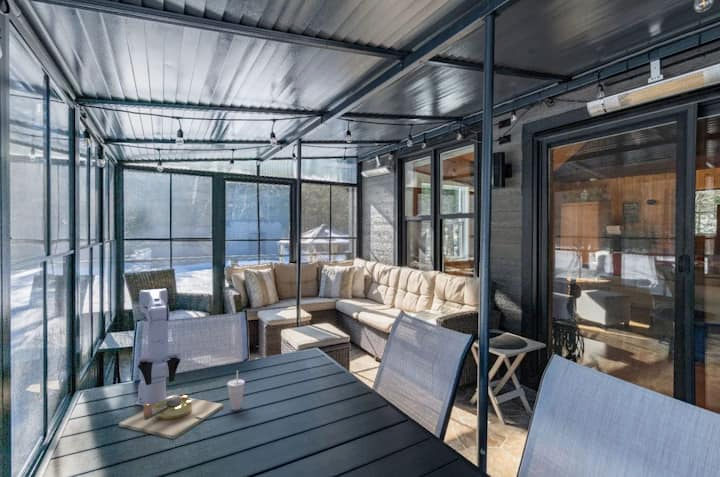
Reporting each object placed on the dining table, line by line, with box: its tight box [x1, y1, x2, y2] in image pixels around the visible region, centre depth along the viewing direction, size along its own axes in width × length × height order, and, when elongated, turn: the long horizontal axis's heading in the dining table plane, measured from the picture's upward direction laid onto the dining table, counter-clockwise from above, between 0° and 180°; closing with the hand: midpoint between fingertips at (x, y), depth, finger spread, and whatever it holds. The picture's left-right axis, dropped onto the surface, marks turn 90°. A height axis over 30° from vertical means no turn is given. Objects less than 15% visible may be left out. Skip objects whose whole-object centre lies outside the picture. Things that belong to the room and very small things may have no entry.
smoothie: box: [226, 370, 246, 411], centre depth 146 cm, size 6×6×14 cm
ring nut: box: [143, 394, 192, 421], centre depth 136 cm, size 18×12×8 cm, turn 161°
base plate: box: [118, 394, 224, 440], centre depth 139 cm, size 24×24×6 cm
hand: (160, 383), depth 130 cm, fingers open, 7 cm apart
